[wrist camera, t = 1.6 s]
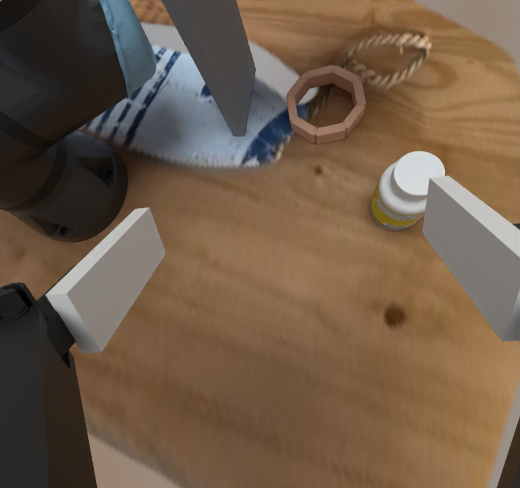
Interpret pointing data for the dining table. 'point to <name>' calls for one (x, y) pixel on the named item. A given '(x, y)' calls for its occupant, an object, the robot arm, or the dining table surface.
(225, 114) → the grey l-shaped rod
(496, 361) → the dining table surface
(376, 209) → the supplement bottle
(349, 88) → the socket
